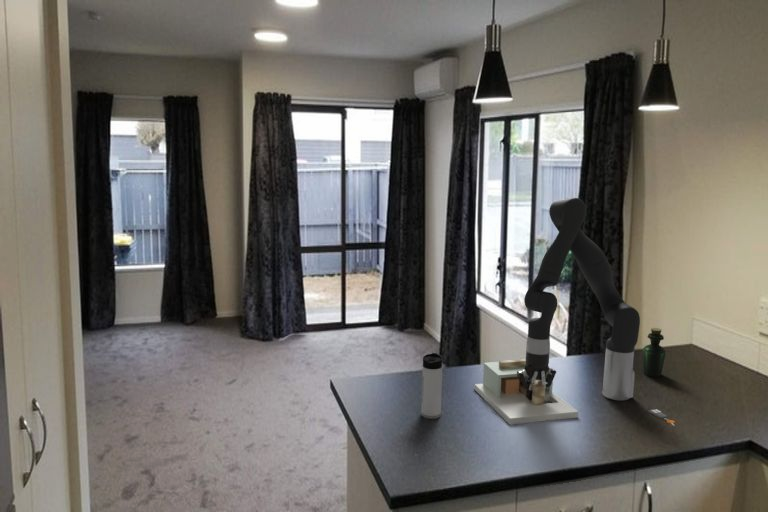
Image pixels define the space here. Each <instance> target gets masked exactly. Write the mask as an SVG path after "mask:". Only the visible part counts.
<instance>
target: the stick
mask: <svg viewBox="0 0 768 512" xmlns="http://www.w3.org/2000/svg"><path fill="white" fill-rule="evenodd" d="M498 362H499V367H500V368H501V369H506V368H519V367H525V366H526V358H522V359H521V358H520V359H519V358H517V359H509V360H508V359H507V360H505V359H504V360H498Z"/></svg>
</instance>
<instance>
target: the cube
mask: <svg viewBox="0 0 768 512" xmlns="http://www.w3.org/2000/svg"><path fill="white" fill-rule="evenodd" d="M501 391H503V392H504V393H505V394H512V393H519V378H517V377H506V378H501Z"/></svg>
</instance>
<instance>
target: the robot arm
mask: <svg viewBox="0 0 768 512" xmlns="http://www.w3.org/2000/svg"><path fill="white" fill-rule="evenodd" d="M548 211H549V217H550V220H551V222H552V223H553V225H554V227H555V228H556V229H557V231H558V233H557V235H556V236H555V239H554V240H553V242H552V243H551V245H550V246H549V248H547V251H546V252H545V253H544V255H543V256H542V260H541V263H540V266H539V269H538V272H537V276H536V277H535V278H534V279H533V281H532V283H531V285H530V286H529V288H528V289H527V291H526V293H525V295H524V302H523V303H524V306H525V308H526V309H527V310H529V311H533V312H536V313H541V314H540V317H532V318H530V319H529V321H528V325H527V327H528V328H527V338H526V339H527V340H526V344H525V345H526V348H525V349H526V350H525V359H526V366H525V368H524V370H522V371H517V375H518V378H519V381H520V384H521V386H522V387H524V388H525V389H526V397H527V398H528V400H530V401H531V400H532V393H533V390H532V388H533V384H535V380H537V379H538V381H539V382H540V383H541V384H543V385H544V386H545V388H546V387H550V386H551V384H552V381H554V380H555V376H556V374H557V371H556V369H554V368H552V367H550V366H549V364H550V349H551V341H550V338H551V325H552V322H553V320H554V317H555V313H556V310H557V308H558V299H557V297H556V295H555V293H553V292H549V291H544V290H545V289H547V288H548V287H555V286H557V285H558V284H559V281H560V277H561V275H562V271H563V268H564V266H565V262H566V259H567V256H568V254H569V252H571V254H572V256H573V258H574V259H575V261H576V263H577V266H578V267H579V269H580V271H581V273H582V275H583V276H584V278H585V280H586V282H587V283H588V286H589V287H590V288H591V290H592V292H593V294H594V295H595V296H596V298H597V301H598V303H599V305H600V308H601V311H602V313H603V316H604V318H605V320H606V322H607V323H608V324H609V325H610V326H611V327H612V332H611V337H610V338H608V339H607V340H606V343H605V355H604V357H605V358H604V368H603V380H602V381H603V382H602V392H601V393H602V396H604V397H605V398H607V399H610V400H614V401H627V400H630V399H633V396H634V387H635V374H636V372H635V371H634V369H633V368H634V357H635V347H636V346H637V343H638V342H639V341H638V339H639V335H640V334H639V333H640V325H641V318H640V317H641V316H640V313H639V311H638V310H637V309H636V308H635V307H633V306H631V305H630V304H627V303H626V302H625V300H624V298H622V296H621V294H620V292H619V291H618V289H617V288H616V284H615V280H614V273H613V270H612V267H611V264H610V263H609V260H608V259H607V257H606V255H605V253H604V250H602V249H601V248H600V247H599V245H597V244H596V242H594V241H593V240H592V239H591V238H590V237H588V236H587V235H586V234H585V232H583V230H582V229H581V228H582V226H583V222H584V221H585V218H586V216H587V206H586V204H585V202H584V201H583V200H582V199H580V198H578V197H569V198H562V199H556V200H554V201H553V202H552V203H551V204H550V206H549V210H548ZM547 372H548V374H547ZM525 374H527V375H528V376H527V383H526V381H525V378H524V377H525ZM546 374H547V377H546V379H545V375H546Z"/></svg>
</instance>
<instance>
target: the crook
mask: <svg viewBox="0 0 768 512" xmlns="http://www.w3.org/2000/svg"><path fill="white" fill-rule="evenodd" d="M517 378H518V377H517ZM519 390H520V391H522V392H523V393H524V394H525V395H526V389H525V388H524V387H522V386H521V384H520V381H519ZM532 390H533V393H532V400H531V402H533V403H534V404H545V401H544V397H545V386H544V385H543V384H541V383H540V382H539V381H538V380H535V384H533V388H532Z"/></svg>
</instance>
